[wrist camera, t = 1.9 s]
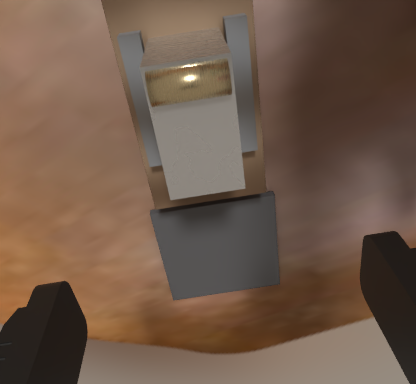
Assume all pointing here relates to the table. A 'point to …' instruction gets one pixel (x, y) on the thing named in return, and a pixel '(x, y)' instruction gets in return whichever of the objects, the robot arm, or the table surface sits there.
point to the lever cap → (194, 112)
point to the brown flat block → (242, 70)
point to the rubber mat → (218, 245)
